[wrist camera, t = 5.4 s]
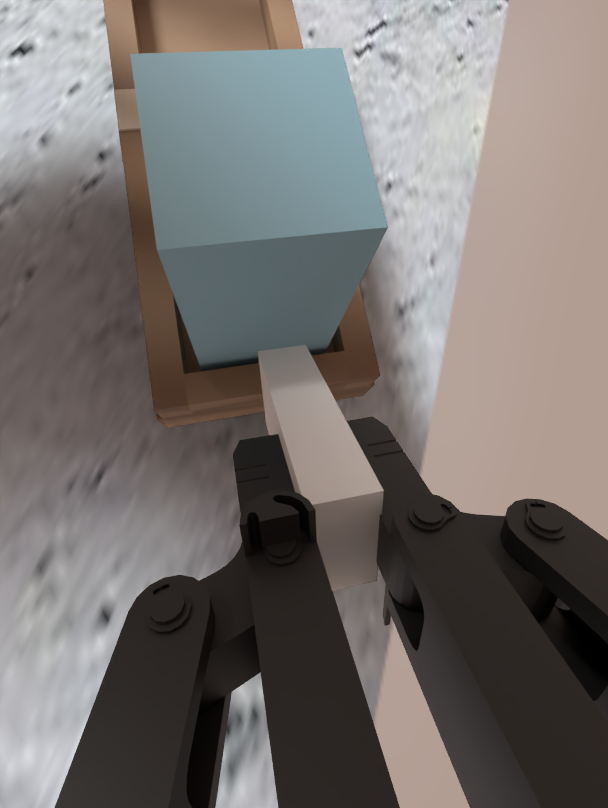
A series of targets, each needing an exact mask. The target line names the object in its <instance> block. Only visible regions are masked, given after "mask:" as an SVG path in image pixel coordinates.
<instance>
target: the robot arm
mask: <svg viewBox="0 0 608 808" xmlns="http://www.w3.org/2000/svg"><path fill="white" fill-rule="evenodd" d="M258 358H259V366H260V375H261V384H262V393H263V401H264V410H265V419H266V425H267V429H268V433H269V436H263V437H257V438H251V439H246V440H240V441H239V443H238V445H237V447H236V449H235V451H234V454H233V459H234V466H235V474H236V482H237V489H238V497H239V504H240V512H241V518H240V531H241V536H242V544H241V547H240V550H239V551H238V553H237V554H236V556H235V557H234V558H233V559H232V560H231V561H230V562H229V563H228V564H227V565H226V566H225V567H223V568H222V569H220V570H219V571H217V572H215V573H213V574H212V575H210V576H208V577H206V578H204V579H202V580H200V581H198V580H196V579H195V578H193V577H188V576H182V575H177V576H172V577H166V578H163V579H161V580H159V581H157V582H155V583H153V584H151V585H149V586H148V587H147V588H146V589H145V590H144V591H143V592H142V593H141V594H140V595H139V596H138V597H137V598H136V600H135V601H134V603H133V605H132V607H131V608H130V610H129V612H128V615H127V617H126V620H125V623H124V625H123V628H122V630H121V633H120V636H119V638H118V641H117V644H116V646H115V649H114V652H113V654H112V657H111V660H110V662H109V665H108V668H107V670H106V673H105V676H104V678H103V681H102V684H101V686H100V689H99V692H98V694H97V697H96V700H95V702H94V705H93V707H92V710H91V713H90V715H89V718H88V721H87V723H86V726H85V729H84V731H83V734H82V737H81V739H80V742H79V745H78V747H77V750H76V753H75V755H74V758H73V761H72V763H71V766H70V769H69V771H68V774H67V776H66V779H65V782H64V784H63V787H62V790H61V792H60V795H59V798H58V800H57V803H56V806H55V808H215V806H216V799H217V792H218V785H219V777H220V770H221V763H222V756H223V749H224V742H225V735H226V728H227V721H228V714H229V707H230V700H231V693H232V691H233V690H235V689H236V688H238V687H239V686H241V685H242V684H244V683H245V682H247V681H248V680H250V679H251V678H253V677H254V676H255V675H257V674H258V673H260V672H261V678H262V686H263V694H264V701H265V709H266V716H267V724H268V731H269V739H270V746H271V754H272V761H273V769H274V776H275V784H276V791H277V799H278V807H279V808H400V807H399V804H398V801H397V797H396V794H395V791H394V788H393V784H392V781H391V778H390V775H389V772H388V769H387V765H386V762H385V759H384V756H383V752H382V749H381V746H380V743H379V740H378V736H377V733H376V730H375V727H374V723H373V720H372V717H371V714H370V711H369V707H368V704H367V701H366V698H365V695H364V691H363V688H362V685H361V682H360V678H359V675H358V672H357V669H356V666H355V662H354V659H353V656H352V653H351V650H350V646H349V643H348V640H347V637H346V634H345V630H344V627H343V624H342V621H341V617H340V614H339V611H338V608H337V605H336V601H335V598H334V595H333V592H332V591H334V590H339V589H343V588H347V587H351V586H356V585H360V584H364V583H369V582H373V581H377V571H378V567H379V569H380V571H381V574H382V576H383V578H384V581H385V583H386V588H385V598H384V608H383V619H384V624H385V625H389V624H390V617H391V616H392V619H393V621H394V624H395V626H396V628H397V631H398V633H399V636H400V638H401V640H402V643H403V645H404V648H405V650H406V653H407V655H408V658H409V660H410V662H411V665H412V667H413V670H414V672H415V674H416V677H417V679H418V682H419V684H420V686H421V689H422V692H423V694H424V696H425V699H426V701H427V704H428V706H429V709H430V711H431V713H432V716H433V718H434V721H435V723H436V726H437V728H438V731H439V733H440V736H441V738H442V740H443V743H444V745H445V748H446V750H447V753H448V755H449V757H450V760H451V762H452V765H453V767H454V770H455V772H456V774H457V777H458V779H459V782H460V784H461V787H462V789H463V792H464V794H465V796H466V799H467V801H468V804H469V806H470V808H608V540H607V539H605V538H604V537H603V536H601V535H600V534H598V533H597V532H596V531H594V530H593V529H591V528H590V527H589V526H587V525H586V524H585V523H583V522H582V521H581V520H579V519H578V518H577V517H575V516H574V515H572V514H571V513H570V512H568V511H566V510H565V509H563V508H561V507H559V506H558V505H556V504H554V503H550V502H547V501H544V500H539V499H523V500H519V501H515V502H514V503H513V504H512V505H511V506H509V507H508V509H507V512H506V516H491V515H476V514H469V513H463V512H460V511H459V510H458V509H457V508H456V507H455V506H454V505H453V504H452V503H451V502H450V501H448V500H446V499H444V498H442V497H440V496H437V495H433V494H432V493H431V492H430V490H429V489H428V487H427V486H426V484H425V483H424V481H423V480H422V478H421V477H420V475H419V474H418V472H417V471H416V469H415V468H414V466H413V465H412V463H411V462H410V460H409V459H408V457H407V456H406V454H405V453H403V450H402V448H401V447H400V445H399V444H398V442H396V439H395V438H394V436H393V435H392V433H391V432H390V430H389V429H388V427H387V426H386V425H384V424H383V423H381V422H380V421H378V420H377V419H375V418H374V417H368V418H362V419H356V420H350V421H346V419H345V417H344V416H343V414H342V412H341V410H340V408H339V406H338V404H337V402H336V401H335V399H334V397H333V395H332V393H331V391H330V389H329V388H328V386H327V384H326V382H325V380H324V378H323V376H322V375H321V373H320V371H319V369H318V367H317V365H316V363H315V361H314V360H313V358H312V356H311V354H310V352H309V350H308V348H307V347H306V345H299V346H292V347H285V348H278V349H270V350H263V351H258Z"/></svg>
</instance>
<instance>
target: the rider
mask: <svg viewBox="0 0 608 808" xmlns="http://www.w3.org/2000/svg"><path fill="white" fill-rule="evenodd" d="M130 56H131V63H132V70H133V78H134V85H135V92H136V100H137V107H138V114H139V122H140V129H141V137H142V144H143V151H144V159H145V166H146V173H147V181H148V188H149V195H150V203H151V210H152V217H153V225H154V232H155V239H156V247H157V251H158V254H159V257H160V260H161V262H162V265H163V268H164V270H165V273H166V276H167V278H168V281H169V284H170V287H171V289H172V292H173V295H174V297H175V300H176V303H177V306H178V308H179V311H180V314H181V316H182V319H183V322H184V324H185V327H186V330H187V333H188V335H189V338H190V341H191V343H192V346H193V349H194V351H195V354H196V357H197V360H198V362H199V365H200V368H201V370H202V371H208V370H215V369H222V368H229V367H235V366H242V365H249V364H256V363H259V358H258V351H263V350H270V349H278V348H285V347H292V346H299V345H306V347H307V348H308V350H309V352H310V354H311V355H318V354H325V352H326V350H327V348H328V346H329V344H330V342H331V340H332V338H333V336H334V334H335V332H336V330H337V328H338V326H339V324H340V322H341V320H342V318H343V316H344V314H345V312H346V310H347V308H348V306H349V304H350V302H351V300H352V298H353V296H354V294H355V292H356V290H357V288H358V286H359V284H360V282H361V280H362V278H363V276H364V274H365V272H366V270H367V268H368V266H369V264H370V262H371V260H372V258H373V256H374V254H375V252H376V250H377V248H378V246H379V244H380V242H381V240H382V238H383V236H384V234H385V232H386V230H387V228H388V226H387V222H386V218H385V214H384V211H383V207H382V203H381V199H380V195H379V191H378V187H377V183H376V180H375V176H374V172H373V168H372V164H371V160H370V156H369V152H368V148H367V145H366V141H365V137H364V133H363V129H362V125H361V121H360V117H359V114H358V110H357V106H356V102H355V98H354V94H353V90H352V86H351V82H350V79H349V75H348V71H347V67H346V63H345V59H344V55H343V51H342V48H317V49H282V50H247V51H212V52H176V53H141V54H130Z"/></svg>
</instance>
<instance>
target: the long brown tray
mask: <svg viewBox="0 0 608 808" xmlns="http://www.w3.org/2000/svg"><path fill="white" fill-rule="evenodd" d="M103 3H104V11H105V19H106V27H107V35H108V43H109V51H110V59H111V67H112V75H113V83H114V95H115V103H116V111H117V119H118V128H119V136H120V144H121V152H122V160H123V163H124V171H125V179H126V187H127V195H128V203H129V212H130V220H131V228H132V236H133V244H134V252H135V260H136V268H137V276H138V284H139V292H140V300H141V308H142V316H143V324H144V332H145V340H146V348H147V356H148V364H149V372H150V380H151V388H152V396H153V404H154V411H155V412H156V413H157V419H158V420H159V421H160V422H161V423H162V424H163V425H164V426H166V427H167V428H168V427H174V426H180V425H187V424H193V423H199V422H205V421H211V420H217V419H223V418H229V417H236V416H242V415H248V414H254V413H260V412H265V410H264V401H263V393H262V384H261V375H260V366H259V363H256V364H249V365H242V366H235V367H229V368H222V369H215V370H208V371H202V370H201V368H200V365H199V362H198V360H197V357H196V354H195V351H194V349H193V346H192V343H191V341H190V338H189V335H188V333H187V330H186V327H185V324H184V322H183V319H182V316H181V314H180V311H179V308H178V306H177V303H176V300H175V297H174V295H173V292H172V289H171V287H170V284H169V281H168V278H167V276H166V273H165V270H164V268H163V265H162V262H161V260H160V257H159V254H158V251H157V247H156V239H155V232H154V225H153V217H152V210H151V203H150V195H149V188H148V181H147V173H146V166H145V159H144V151H143V144H142V137H141V129H140V122H139V114H138V107H137V100H136V92H135V85H134V78H133V70H132V63H131V56H130V54H141V53H176V52H212V51H247V50H282V49H303V45H302V41H301V36H300V32H299V28H298V24H297V19H296V15H295V11H294V7H293V2H292V0H103ZM311 356H312V358H313V360H314V361H315V363H316V365H317V367H318V369H319V371H320V373H321V375H322V376H323V378H324V380H325V382H326V384H327V386H328V388H329V389H330V391H331V393H332V395H333V397H334V399H335V400H340V399H346V398H352V397H358V396H363V395H364V394H365V393H366V392H367V391H368V390H369V389H370V388H371V387H372V386H373V385H374V381H375V380H376V379H377V378H378V377H379V376H380V372H379V367H378V363H377V359H376V355H375V350H374V346H373V342H372V338H371V333H370V329H369V325H368V321H367V316H366V312H365V308H364V304H363V300H362V295H361V291H360V287H359V286H358V288H357V290H356V292H355V294H354V296H353V298H352V300H351V302H350V304H349V306H348V308H347V310H346V312H345V314H344V316H343V318H342V320H341V322H340V324H339V326H338V328H337V330H336V332H335V334H334V336H333V338H332V340H331V342H330V344H329V346H328V348H327V350H326V352H325V354H318V355H311Z"/></svg>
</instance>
